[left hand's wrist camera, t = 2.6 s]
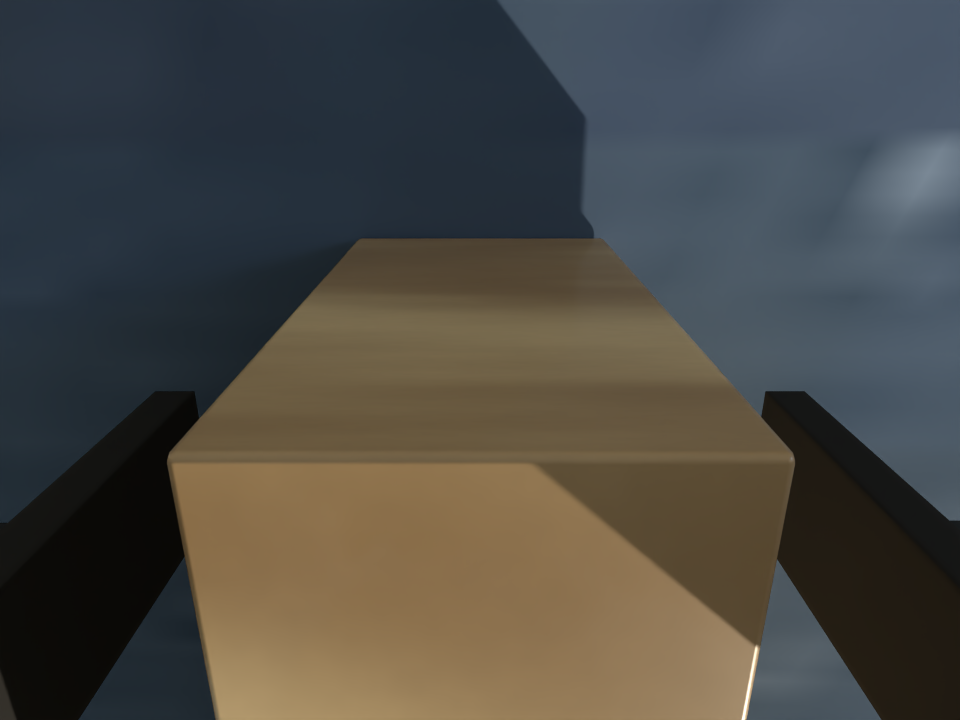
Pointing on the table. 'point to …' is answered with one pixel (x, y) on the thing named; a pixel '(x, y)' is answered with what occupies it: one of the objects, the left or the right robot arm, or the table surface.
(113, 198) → the table surface
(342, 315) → the plank
